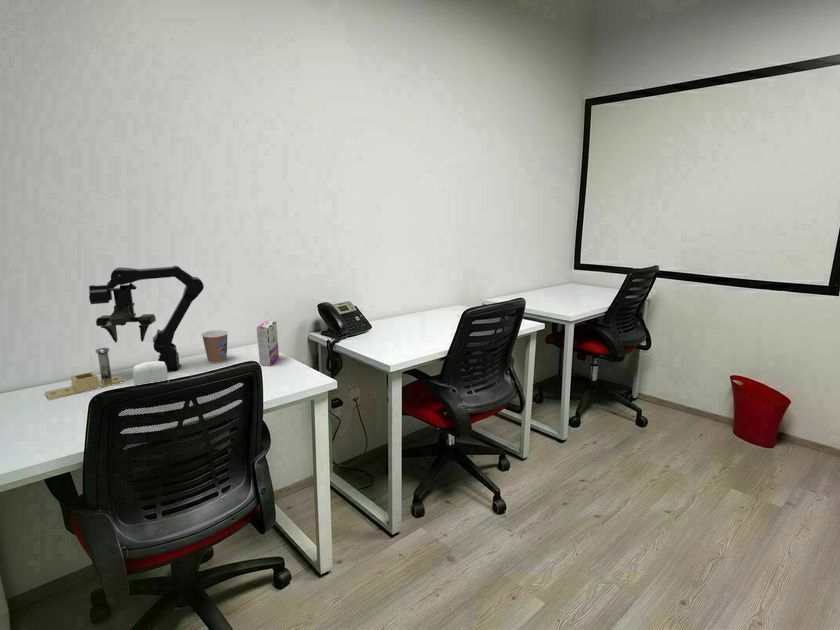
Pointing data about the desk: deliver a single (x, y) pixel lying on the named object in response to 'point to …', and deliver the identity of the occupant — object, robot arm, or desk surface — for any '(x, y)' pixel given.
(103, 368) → the hinge pin
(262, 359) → the candy bar box
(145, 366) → the photo printer
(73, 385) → the brass socket plate
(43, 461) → the desk surface
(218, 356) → the coffee cup
